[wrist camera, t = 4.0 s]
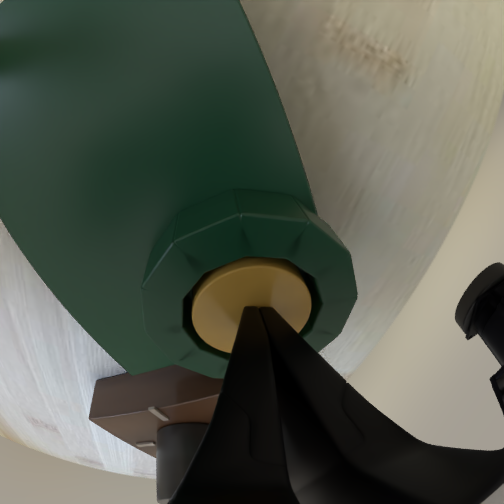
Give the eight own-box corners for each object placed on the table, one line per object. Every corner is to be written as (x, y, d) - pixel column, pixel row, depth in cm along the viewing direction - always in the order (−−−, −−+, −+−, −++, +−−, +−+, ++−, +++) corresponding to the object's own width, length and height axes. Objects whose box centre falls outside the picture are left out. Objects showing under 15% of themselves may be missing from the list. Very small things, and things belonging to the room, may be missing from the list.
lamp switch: (307, 297, 11) (322, 331, 9) (219, 330, 11) (222, 366, 10) (279, 217, 9) (294, 246, 8) (173, 260, 9) (168, 295, 8)
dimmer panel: (283, 402, 19) (292, 440, 17) (165, 431, 20) (165, 464, 17) (237, 335, 15) (245, 386, 12) (92, 377, 15) (84, 419, 13)
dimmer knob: (241, 441, 16) (252, 507, 12) (181, 452, 16) (185, 514, 12) (209, 416, 13) (217, 500, 9) (141, 429, 14) (140, 503, 10)
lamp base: (329, 276, 13) (364, 339, 10) (139, 345, 14) (131, 410, 11) (194, -75, 5) (191, -133, 1) (-28, 68, 6) (-91, 79, 2)
